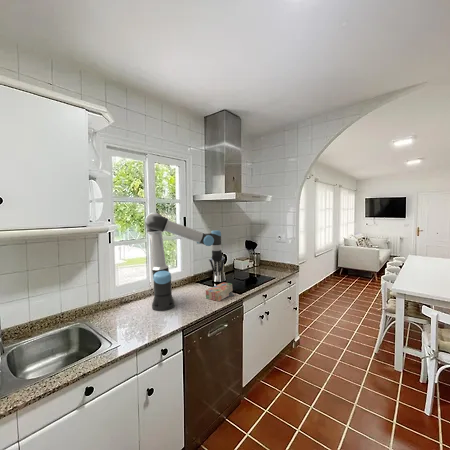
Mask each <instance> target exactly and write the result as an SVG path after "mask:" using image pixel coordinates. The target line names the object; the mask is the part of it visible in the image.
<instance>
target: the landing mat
mask: <svg viewBox="0 0 450 450" xmlns="http://www.w3.org/2000/svg"><path fill="white" fill-rule="evenodd" d="M228 297H229V298H230V297H235V294H234V293H233V291H232V292H230V293H229V296H227V297H226V298H228Z"/></svg>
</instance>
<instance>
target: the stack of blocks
mask: <svg viewBox="0 0 450 450" xmlns="http://www.w3.org/2000/svg"><path fill="white" fill-rule="evenodd" d="M230 292H232V293H233V283H230V282H221V283H219V284H217V285H215V286H212V287H211V288H207V289H205V298H206V299H207V300H211V301H216V302H221V301H222V300H224V299H227V298H228V297H227V296H229V293H230Z"/></svg>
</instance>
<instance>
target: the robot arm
mask: <svg viewBox="0 0 450 450" xmlns="http://www.w3.org/2000/svg"><path fill="white" fill-rule="evenodd" d="M144 221H145V226H146V233H148V234H149V239H150V248H151V254H152V262H153V267H152V269H151V271H152V279H153V295H154V296H153V300H152V302H151V308H152V310H154V311H160V312H161V311H168V310H171V309H173V308H174V307H175V305H176V303H175V299H174V296H173V295H172V294H173V293H172V274H171V272H170V270H169V269H170V268H169V265H167V263H166V255H165V248H164V241H163V232H164V233H165V232H167V233H169V234H173V235H176V236H179V237H181V238H184V239H187V240H191V241H193V242H196V244H199V245H205V247H211V258H210V259H208V261H209V262H210V266H211V269H212V272H214V276H215V280H217V281H220V276H221V271H223V269H224V264H225V261H226V258H224V256H223V255H222V253H223V251H222V231H221V230H215V229H214V230H211V231H210V233H203V232H201V231H198V230H196V229H193V228H190V227H187V226H185V225H182V224H180V223H177V222H174V221H171V220H170V219H169V218H167V217H166V216H163V215H161V214H159V213H157V212H150V213H148V214H147V215H146V217H145V220H144ZM213 262H214V264H213Z"/></svg>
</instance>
